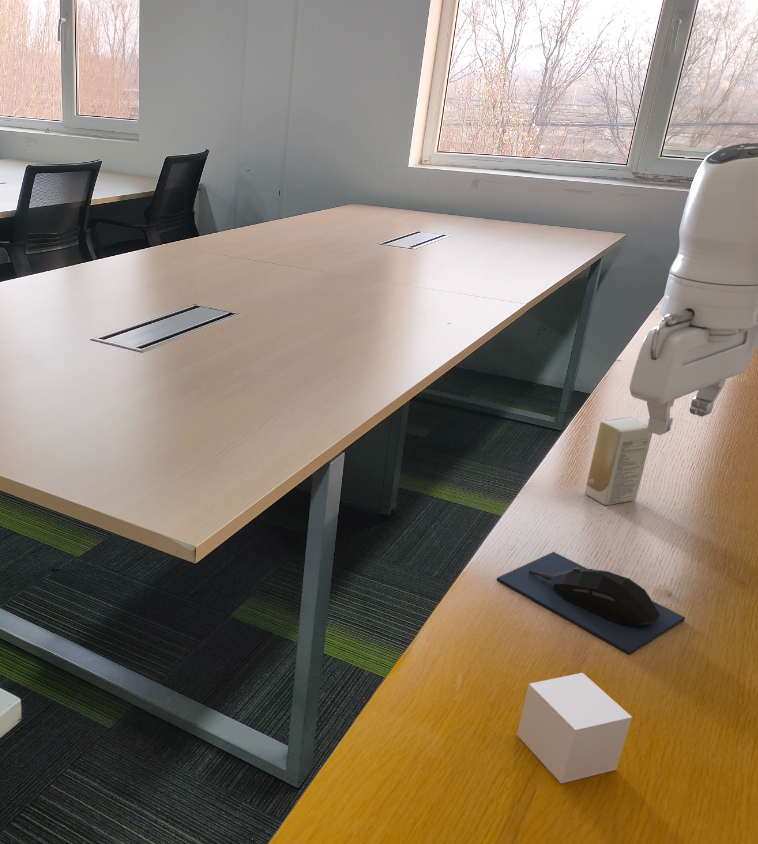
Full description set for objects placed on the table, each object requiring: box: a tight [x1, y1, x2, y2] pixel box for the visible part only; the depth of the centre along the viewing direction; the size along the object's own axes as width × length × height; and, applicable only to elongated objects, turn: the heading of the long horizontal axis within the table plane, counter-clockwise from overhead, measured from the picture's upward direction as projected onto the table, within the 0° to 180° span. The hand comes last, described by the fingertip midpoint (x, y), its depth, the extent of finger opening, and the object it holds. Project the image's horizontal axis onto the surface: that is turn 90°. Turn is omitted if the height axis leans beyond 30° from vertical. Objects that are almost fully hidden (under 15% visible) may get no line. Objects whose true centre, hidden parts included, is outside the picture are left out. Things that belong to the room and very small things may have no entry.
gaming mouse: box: [529, 567, 660, 625], centre depth 95 cm, size 6×15×4 cm, turn 45°
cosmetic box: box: [584, 416, 653, 506], centre depth 120 cm, size 6×4×12 cm
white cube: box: [516, 672, 633, 784], centre depth 72 cm, size 6×6×6 cm
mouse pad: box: [496, 551, 686, 655], centre depth 96 cm, size 17×12×1 cm
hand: (679, 422), depth 91 cm, fingers open, 8 cm apart
